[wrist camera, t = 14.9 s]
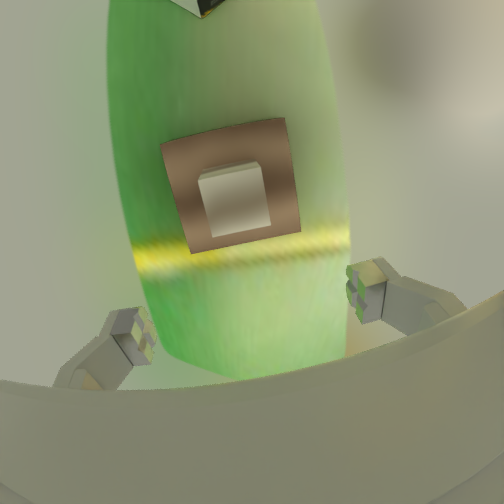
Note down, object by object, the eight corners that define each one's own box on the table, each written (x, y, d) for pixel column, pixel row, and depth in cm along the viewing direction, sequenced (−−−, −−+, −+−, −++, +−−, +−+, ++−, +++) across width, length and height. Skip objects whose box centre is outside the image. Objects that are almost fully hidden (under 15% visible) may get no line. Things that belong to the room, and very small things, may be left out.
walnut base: (166, 142, 26) (159, 144, 23) (278, 117, 26) (284, 117, 23) (193, 242, 32) (191, 254, 29) (294, 221, 31) (301, 231, 29)
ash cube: (203, 169, 25) (197, 180, 21) (254, 158, 25) (260, 167, 20) (214, 217, 27) (212, 237, 23) (263, 206, 27) (271, 225, 23)
